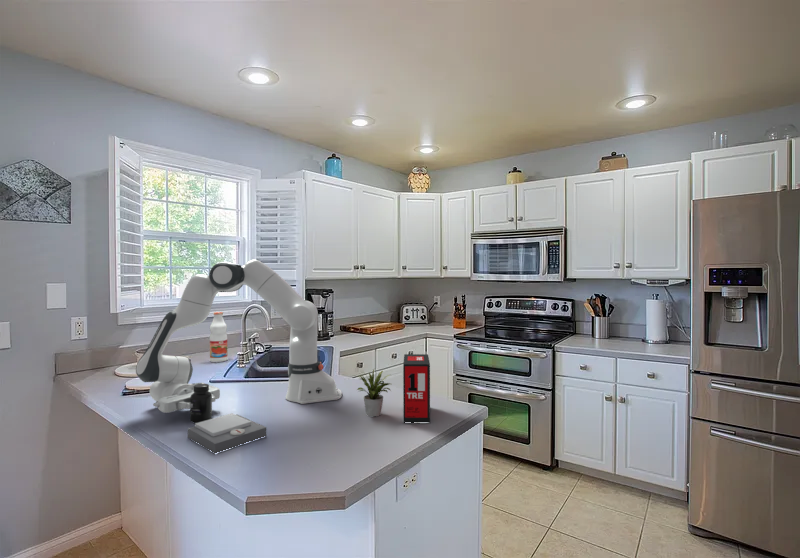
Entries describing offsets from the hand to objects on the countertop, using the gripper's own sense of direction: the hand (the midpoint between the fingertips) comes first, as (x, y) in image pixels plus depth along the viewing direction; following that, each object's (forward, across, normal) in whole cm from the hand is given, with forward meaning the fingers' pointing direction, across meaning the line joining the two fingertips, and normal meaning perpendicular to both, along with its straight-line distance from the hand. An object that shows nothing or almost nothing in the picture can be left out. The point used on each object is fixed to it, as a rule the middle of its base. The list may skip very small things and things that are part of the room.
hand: (202, 402), depth 141 cm
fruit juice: (-83, +59, +6) cm, 102 cm away
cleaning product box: (+59, +44, +6) cm, 74 cm away
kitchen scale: (+20, -4, +6) cm, 22 cm away
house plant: (+46, +35, +6) cm, 58 cm away
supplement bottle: (-1, 0, +6) cm, 6 cm away
